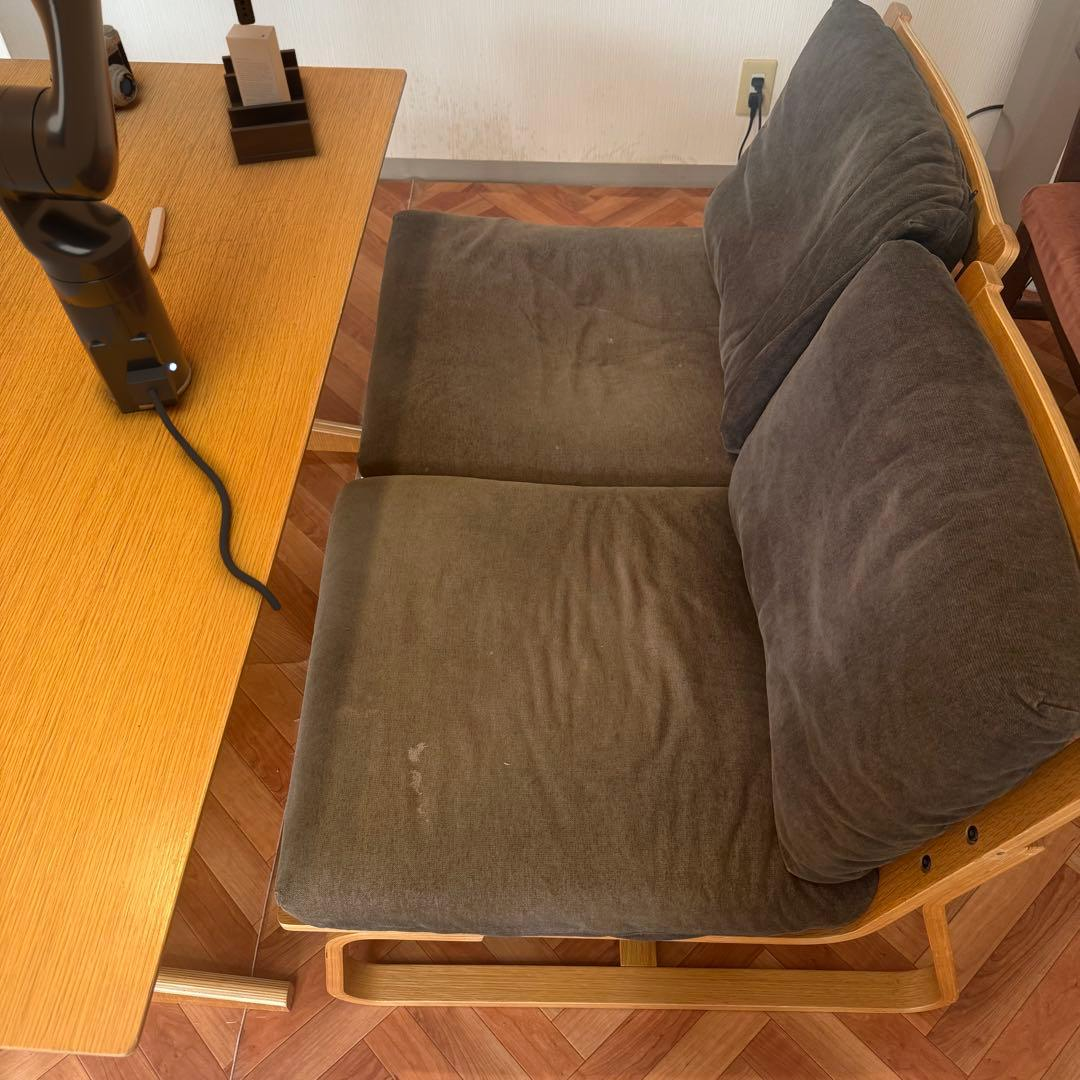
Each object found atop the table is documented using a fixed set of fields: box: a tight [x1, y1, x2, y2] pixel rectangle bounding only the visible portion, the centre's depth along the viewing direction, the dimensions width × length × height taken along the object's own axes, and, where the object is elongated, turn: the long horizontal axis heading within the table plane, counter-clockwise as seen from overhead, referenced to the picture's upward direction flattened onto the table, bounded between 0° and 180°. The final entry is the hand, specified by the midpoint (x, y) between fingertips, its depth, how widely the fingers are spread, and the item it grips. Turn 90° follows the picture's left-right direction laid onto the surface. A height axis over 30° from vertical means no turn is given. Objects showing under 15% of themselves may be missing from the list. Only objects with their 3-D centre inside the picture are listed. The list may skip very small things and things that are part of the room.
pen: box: [143, 206, 166, 270], centre depth 116 cm, size 2×14×2 cm, turn 8°
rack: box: [221, 48, 317, 166], centre depth 133 cm, size 22×11×5 cm, turn 15°
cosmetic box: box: [225, 23, 291, 106], centre depth 129 cm, size 6×4×12 cm
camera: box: [48, 24, 139, 109], centre depth 132 cm, size 15×7×10 cm, turn 162°
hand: (245, 9), depth 122 cm, fingers open, 8 cm apart
